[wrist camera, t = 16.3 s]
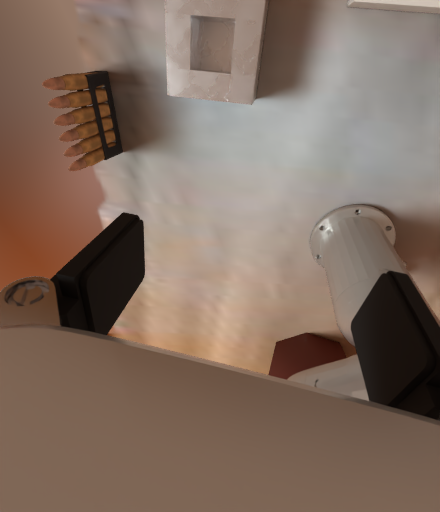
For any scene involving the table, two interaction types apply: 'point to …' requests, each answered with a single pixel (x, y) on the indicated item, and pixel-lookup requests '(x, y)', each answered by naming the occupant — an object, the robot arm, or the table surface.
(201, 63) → the block
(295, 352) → the bucket
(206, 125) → the table surface
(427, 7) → the tray
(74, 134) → the ammunition clip
